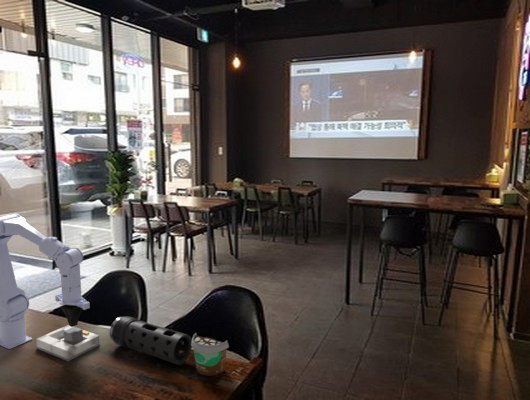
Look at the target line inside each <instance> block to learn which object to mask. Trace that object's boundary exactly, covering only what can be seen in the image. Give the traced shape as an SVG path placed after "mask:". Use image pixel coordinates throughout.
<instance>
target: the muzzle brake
mask: <svg viewBox="0 0 530 400" xmlns="http://www.w3.org/2000/svg"><path fill="white" fill-rule="evenodd" d="M109 337H110V339H111V341H113V342H114V344H116V345H117V346H120V347H122V348H123V347H124V348H129V349H130V350H132V351H135V352H138V353H139V352H141V353H142V354H147V355H148V356H152V357H154V358H158V359H160V360H162V361H166V362H168V363H171V364H174V365H176V366H179V367H181V366H182V365H183V364H184V363H185V362H186V361H187V360H188V358H189V356H190V354H191V351H192V349H193V348H192V346H191V342H192V338H191V336H190V335H188V334H187V333H183V332H179V331H177V330H173V329H171V328H170V329H169V328H165V327H162V326H158V325H156V324H153V323H149V322H146V321H143V320H140V319H138V318H136V317H132V316H126V315H125V316H119V317H117V318H115V320H114V321H113V322H112V323H111V325H110V328H109ZM181 351H182V352H181Z"/></svg>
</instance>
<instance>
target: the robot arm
mask: <svg viewBox="0 0 530 400" xmlns="http://www.w3.org/2000/svg"><path fill="white" fill-rule="evenodd" d="M13 236H20V237H22V238H23V239H25V240H27V241H29V242H31V243H32V244H35V245H37V246H38V248H39V251H40V252H41V254H44V255H45V256H47V257H49V258H50V259H52V260H53V261H54V262H55V264H56V267H57V268H58V270H59V271H58V272H59V274H60V284H61V293H59V294H58V293H57V294H56V295H54V297H55V302H59V305H61V306H60V310H61V311H62V312H63V313H64V315H65V317H66V320H67V323H68V325H69V326H71V327H77V326H78V324H79V318H80V315H81V313H82V311H83V310H84V311H86V310H87V309H90V302H89V301H87V299H85V298H84V297H83V296H82V284H81V283H82V282H81V278H82V277H81V264H82V262H83V260H84V253H83V252H82V250H81V249H80V248H78V247H75V246H74V247H71V246H69V245H67V244H65V243H63V242H61V241H60V240H58V237H56V236H45V235H44V234H43V233H41V232H40V231H38V230H37V229H36V228H35V227H33V226H32V225H31V224H29V223H28V222H27V220H26V218H25V217H23V216H21V215H20V214H19V213H14V212H13V213H10V214H7V215H1V216H0V346H2V347H4V348H6V349H8V350H10V349H13V348H15V347H17V346H21V345H22V344H25V343H26V342H27V343H28V342H30V341H32V340H33V338H32V337H31V336H28V335H27V329H26V316H25V314H27V310H28V309H29V307H30V300H29V298H28V296H26V292H25V290H24V289H22V288H20V287H18V285H17V279H16V275H15V272H14V267H13V264H12V259H11V255H10V252H9V248H8V242H9V241H10V240H11V238H12V237H13Z"/></svg>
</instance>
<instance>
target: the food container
mask: <svg viewBox="0 0 530 400" xmlns="http://www.w3.org/2000/svg"><path fill="white" fill-rule="evenodd" d="M191 340H192V342H191V346H192V348H191V349H193V352H194V362H195V369H196V370H195V371H196V372H197V374H199V375H202V376H208V377H210V376H217V375H221V374H222V373H223V372H224V371H225V370H226V369H225V368H226V360H227V359H226V358H227V349H229V348H230V345H229V342H228V340H225V341H224V342H223V341H219V340H217V339H215V338H212V337H203V336H200V335H197V332H195V333H194V334H193V336H192V338H191Z"/></svg>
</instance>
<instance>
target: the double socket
mask: <svg viewBox="0 0 530 400" xmlns="http://www.w3.org/2000/svg"><path fill="white" fill-rule="evenodd" d="M70 328H72V327H71V326H69V324H67V325H64V326H63V327H60V328H58V329H55V330H53V331H51V332H49V333H47V334H44V335H42V336H39V337H37V338H36V339H35V343H36V349H37V350H39V351H42V352H45V353H47V354H49V355H51V356H53V357H56V358H59V359H61V360H63V361H66V362H70V361H71V360H73V359H77V358H78V357H80V356H82V355H83V354H85V353H87V352H89V351H91V350H93V349H95V348H97V347H98V346H101V345H100V344H101V343H100V335H99V334H96V333H93V332H90V331H88V330H85V329H82V330H83V341H81V342H79V343H77V344H75V345H71V344H68V343H66V342H64V331H66V330H68V329H70Z"/></svg>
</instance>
